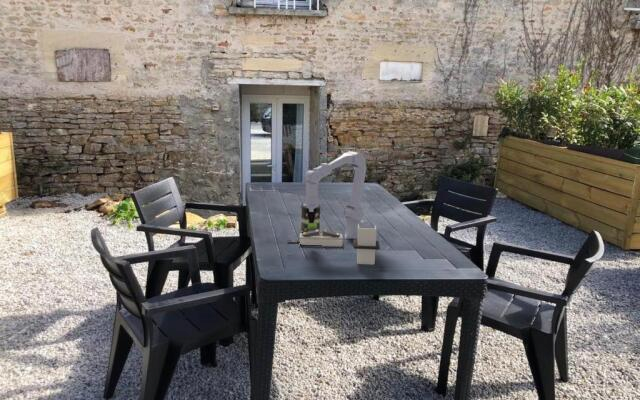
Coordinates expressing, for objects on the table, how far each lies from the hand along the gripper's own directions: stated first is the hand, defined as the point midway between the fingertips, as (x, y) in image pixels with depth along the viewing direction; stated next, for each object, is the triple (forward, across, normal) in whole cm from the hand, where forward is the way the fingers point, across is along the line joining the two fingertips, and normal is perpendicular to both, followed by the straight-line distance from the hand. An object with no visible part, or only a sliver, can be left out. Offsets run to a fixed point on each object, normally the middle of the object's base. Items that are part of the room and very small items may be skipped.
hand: (311, 222), depth 229 cm
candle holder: (+11, +25, +24) cm, 37 cm away
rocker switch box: (+10, 0, +2) cm, 11 cm away
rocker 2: (+6, 0, +10) cm, 11 cm away
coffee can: (+11, -20, -1) cm, 23 cm away
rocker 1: (+6, 0, 0) cm, 6 cm away
